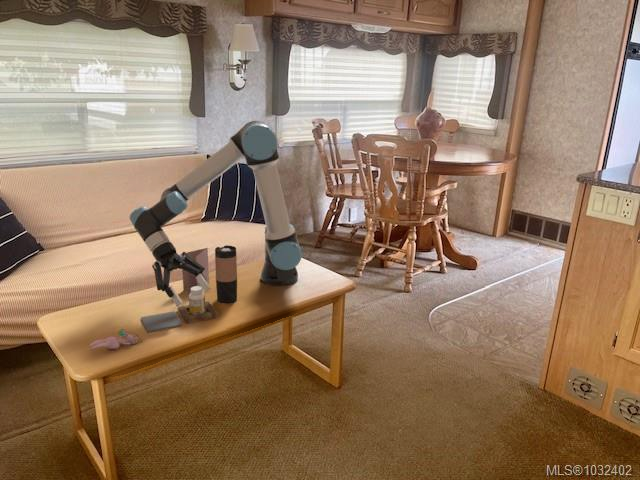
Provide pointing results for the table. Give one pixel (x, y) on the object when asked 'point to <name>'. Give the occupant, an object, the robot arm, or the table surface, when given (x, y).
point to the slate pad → (161, 321)
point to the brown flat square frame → (198, 317)
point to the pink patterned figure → (116, 341)
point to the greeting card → (190, 279)
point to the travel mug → (226, 274)
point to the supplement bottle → (197, 301)
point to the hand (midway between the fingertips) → (194, 297)
